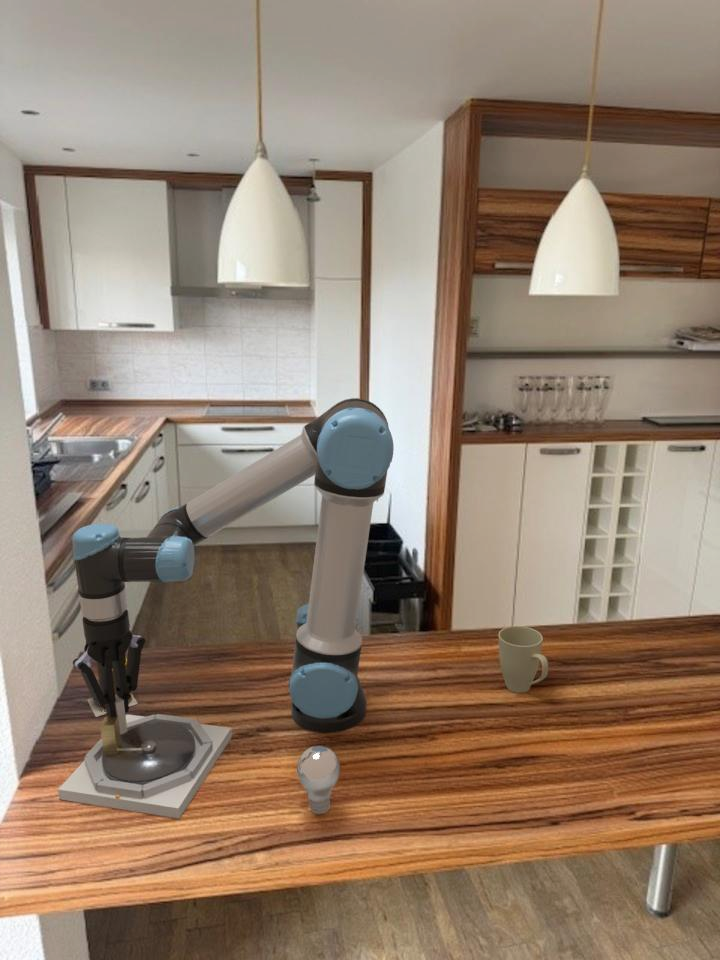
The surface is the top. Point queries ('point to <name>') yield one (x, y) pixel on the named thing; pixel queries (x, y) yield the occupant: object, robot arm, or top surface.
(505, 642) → the mug
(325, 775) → the light bulb
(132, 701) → the condiment
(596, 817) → the top surface
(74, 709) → the top surface
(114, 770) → the dial
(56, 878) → the top surface
